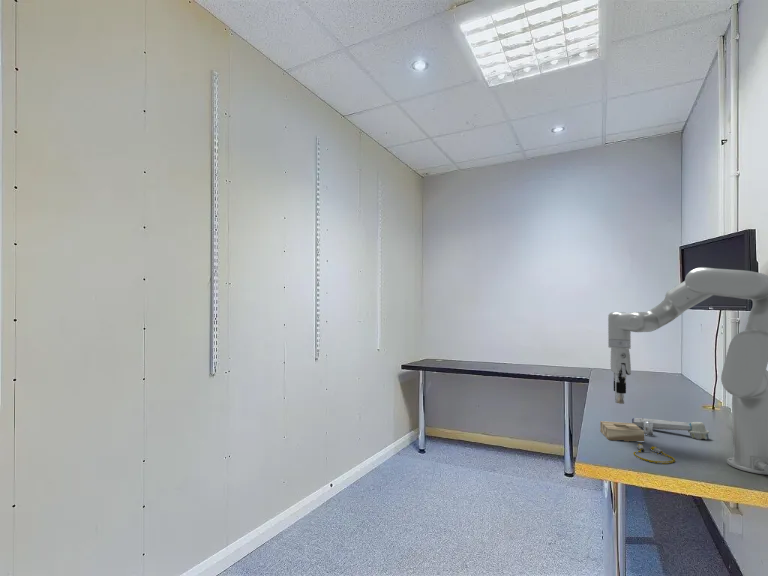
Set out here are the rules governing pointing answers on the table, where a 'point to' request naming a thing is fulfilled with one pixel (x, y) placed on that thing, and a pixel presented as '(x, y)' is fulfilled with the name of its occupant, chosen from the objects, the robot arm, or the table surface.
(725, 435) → the table surface
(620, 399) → the long pin
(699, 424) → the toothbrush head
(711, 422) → the table surface
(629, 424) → the bored block
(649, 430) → the short pin
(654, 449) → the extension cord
